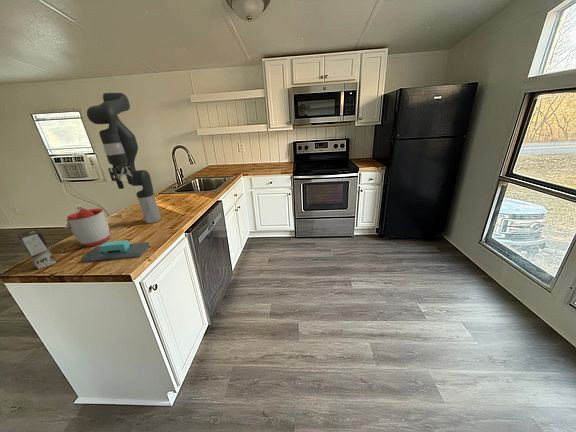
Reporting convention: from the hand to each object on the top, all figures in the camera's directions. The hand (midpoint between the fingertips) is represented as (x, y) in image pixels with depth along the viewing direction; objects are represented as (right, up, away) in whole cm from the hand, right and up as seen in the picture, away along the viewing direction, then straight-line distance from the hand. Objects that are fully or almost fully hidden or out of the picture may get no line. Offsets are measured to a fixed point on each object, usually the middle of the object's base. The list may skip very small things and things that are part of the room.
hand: (126, 186), depth 115 cm
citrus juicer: (-26, -30, +12) cm, 41 cm away
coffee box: (-35, -38, -6) cm, 51 cm away
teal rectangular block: (-3, -34, -2) cm, 34 cm away
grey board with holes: (-3, -34, -2) cm, 34 cm away
